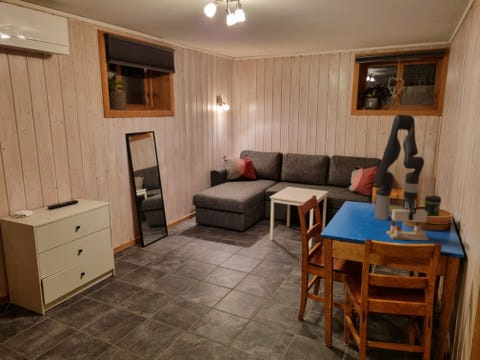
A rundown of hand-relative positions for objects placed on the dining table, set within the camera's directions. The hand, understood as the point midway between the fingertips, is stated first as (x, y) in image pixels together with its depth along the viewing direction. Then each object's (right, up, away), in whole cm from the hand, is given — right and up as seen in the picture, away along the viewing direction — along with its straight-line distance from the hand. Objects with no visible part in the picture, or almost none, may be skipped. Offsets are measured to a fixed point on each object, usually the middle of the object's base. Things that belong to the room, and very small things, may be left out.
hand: (408, 218), depth 202 cm
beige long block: (0, -1, 0) cm, 1 cm away
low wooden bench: (0, -11, +2) cm, 11 cm away
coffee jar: (+30, -6, +30) cm, 43 cm away
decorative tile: (+19, -2, +56) cm, 59 cm away
